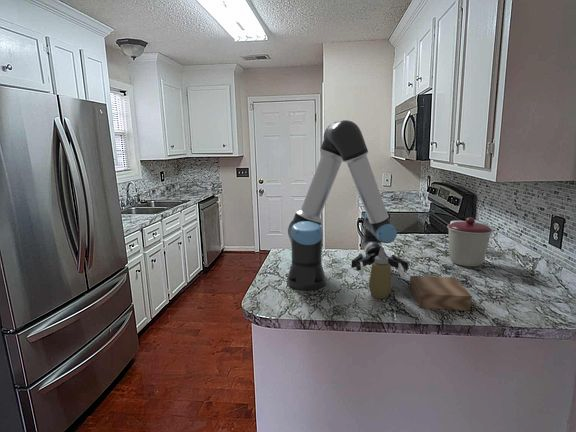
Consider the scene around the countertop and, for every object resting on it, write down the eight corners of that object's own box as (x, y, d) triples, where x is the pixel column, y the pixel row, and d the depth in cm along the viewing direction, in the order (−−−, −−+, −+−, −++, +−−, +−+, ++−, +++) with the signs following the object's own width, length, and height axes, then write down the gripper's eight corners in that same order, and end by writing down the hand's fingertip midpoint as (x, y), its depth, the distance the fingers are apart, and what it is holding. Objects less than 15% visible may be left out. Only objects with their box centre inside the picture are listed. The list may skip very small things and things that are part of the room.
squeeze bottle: (393, 293, 128) (396, 246, 124) (388, 302, 121) (391, 252, 117) (371, 289, 132) (373, 243, 128) (365, 298, 125) (367, 249, 121)
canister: (497, 265, 156) (502, 218, 152) (474, 273, 147) (479, 224, 142) (458, 254, 171) (463, 211, 167) (435, 261, 162) (439, 216, 157)
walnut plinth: (419, 307, 117) (420, 293, 116) (409, 288, 133) (410, 275, 132) (470, 310, 115) (471, 296, 114) (453, 290, 131) (455, 277, 130)
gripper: (406, 263, 141) (419, 284, 121) (343, 261, 144) (345, 281, 124) (407, 245, 140) (420, 263, 119) (344, 243, 143) (346, 261, 122)
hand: (382, 272), depth 121 cm, fingers open, 13 cm apart
